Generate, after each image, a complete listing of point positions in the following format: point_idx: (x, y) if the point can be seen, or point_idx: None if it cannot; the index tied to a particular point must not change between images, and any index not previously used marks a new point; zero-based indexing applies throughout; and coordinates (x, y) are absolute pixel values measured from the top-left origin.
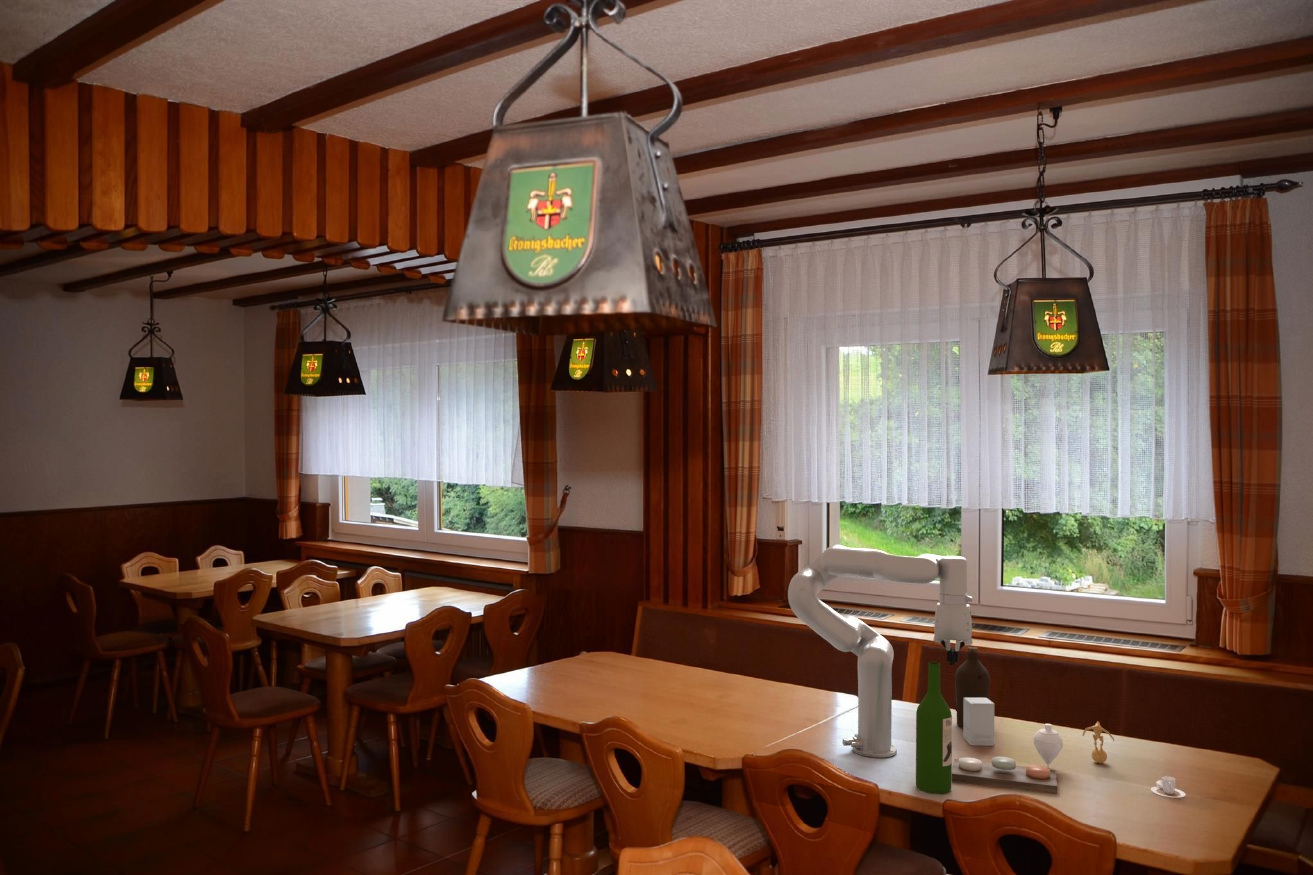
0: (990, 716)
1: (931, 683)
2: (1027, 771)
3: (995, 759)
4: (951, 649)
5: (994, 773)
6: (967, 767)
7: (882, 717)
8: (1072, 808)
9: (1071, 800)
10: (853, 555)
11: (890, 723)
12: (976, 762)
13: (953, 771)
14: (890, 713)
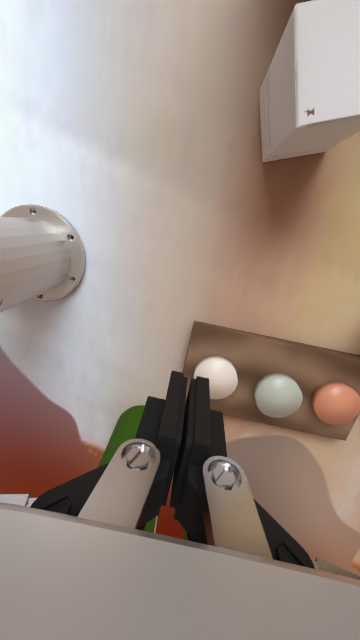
0: (353, 129)
1: None
2: (313, 408)
3: (263, 396)
4: (158, 508)
5: (253, 396)
6: None
7: (6, 309)
8: (335, 478)
9: (349, 452)
10: None
11: (37, 283)
12: (225, 386)
13: None
14: (21, 289)
